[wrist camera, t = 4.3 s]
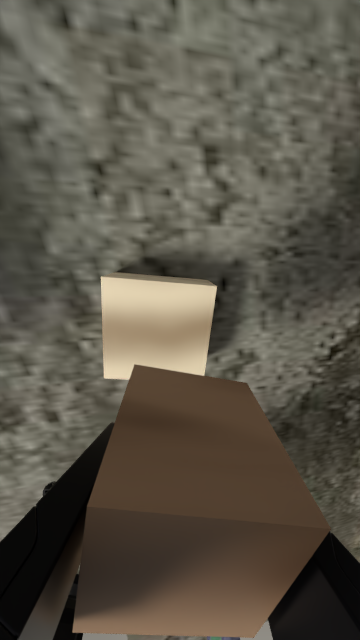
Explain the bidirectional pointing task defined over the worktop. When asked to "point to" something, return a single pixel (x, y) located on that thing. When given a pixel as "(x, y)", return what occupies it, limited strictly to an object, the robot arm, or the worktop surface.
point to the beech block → (155, 323)
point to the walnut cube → (192, 514)
